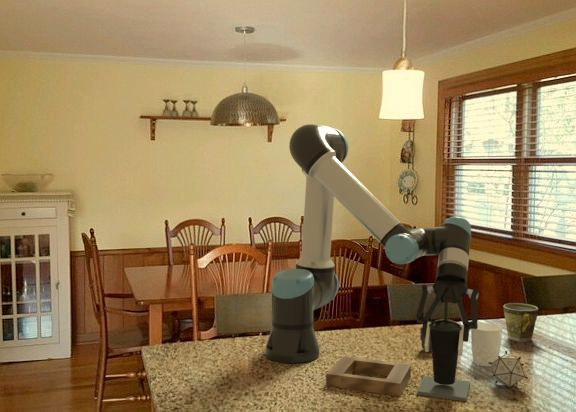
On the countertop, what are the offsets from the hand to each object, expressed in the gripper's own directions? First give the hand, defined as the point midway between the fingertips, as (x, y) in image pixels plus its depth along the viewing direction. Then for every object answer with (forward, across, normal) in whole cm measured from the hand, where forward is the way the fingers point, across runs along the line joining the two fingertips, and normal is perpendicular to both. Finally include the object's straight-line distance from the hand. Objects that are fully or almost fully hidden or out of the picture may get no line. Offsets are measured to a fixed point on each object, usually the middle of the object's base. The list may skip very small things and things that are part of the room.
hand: (443, 350), depth 140 cm
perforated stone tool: (-17, +5, -33) cm, 37 cm away
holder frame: (+6, +18, -9) cm, 21 cm away
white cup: (-12, -8, -27) cm, 31 cm away
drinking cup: (+4, 0, -9) cm, 9 cm away
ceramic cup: (-30, -17, -45) cm, 57 cm away
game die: (0, -14, -16) cm, 21 cm away
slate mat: (+5, 0, -10) cm, 11 cm away
